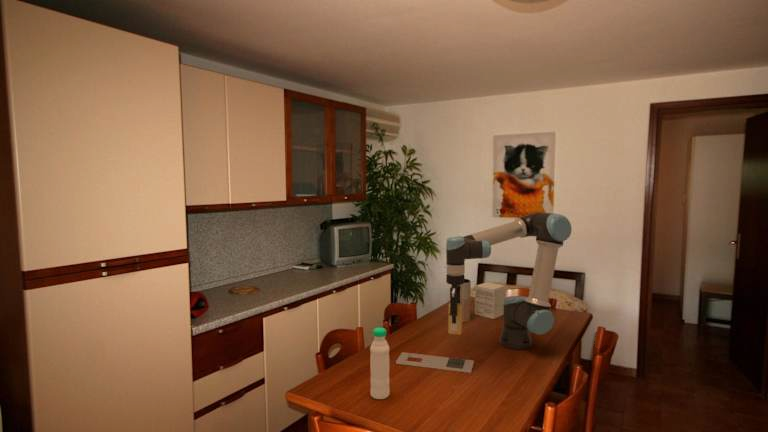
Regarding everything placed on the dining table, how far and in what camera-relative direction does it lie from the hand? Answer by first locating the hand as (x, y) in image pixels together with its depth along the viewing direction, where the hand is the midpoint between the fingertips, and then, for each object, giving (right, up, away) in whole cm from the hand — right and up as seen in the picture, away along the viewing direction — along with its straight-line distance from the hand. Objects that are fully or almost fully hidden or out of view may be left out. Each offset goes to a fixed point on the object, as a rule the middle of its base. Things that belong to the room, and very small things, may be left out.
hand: (455, 328), depth 185 cm
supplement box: (+33, -11, +73) cm, 81 cm away
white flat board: (-8, -16, +4) cm, 19 cm away
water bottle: (-32, -19, -25) cm, 44 cm away
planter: (+14, -12, +64) cm, 66 cm away
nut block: (0, -2, 0) cm, 2 cm away
